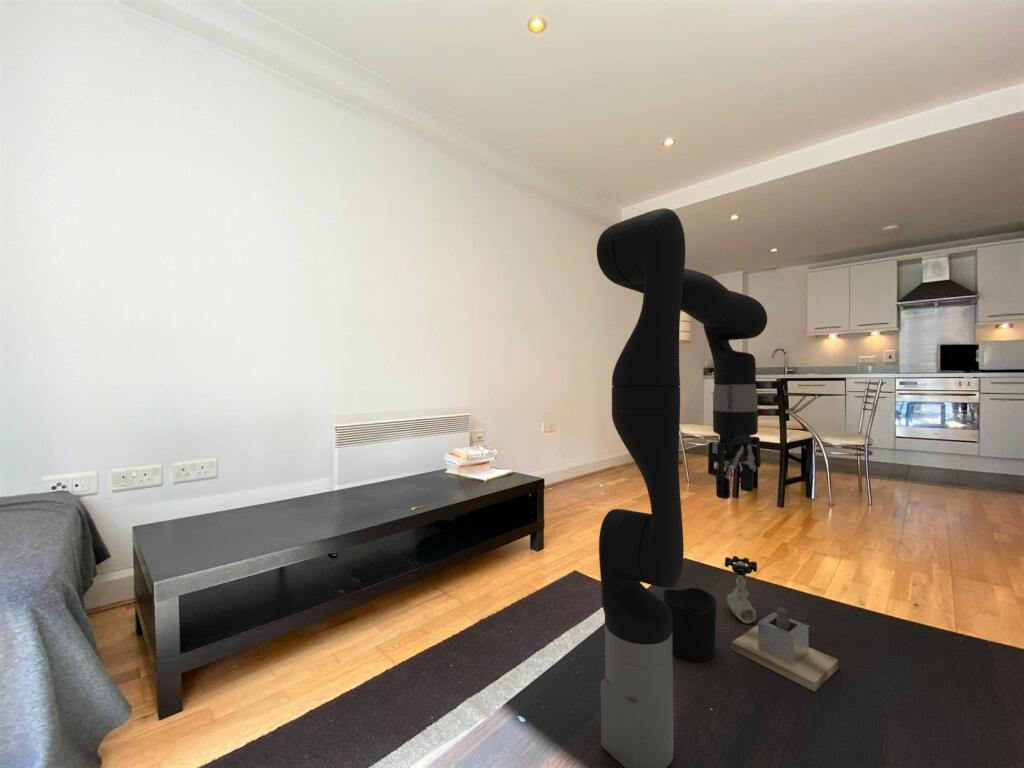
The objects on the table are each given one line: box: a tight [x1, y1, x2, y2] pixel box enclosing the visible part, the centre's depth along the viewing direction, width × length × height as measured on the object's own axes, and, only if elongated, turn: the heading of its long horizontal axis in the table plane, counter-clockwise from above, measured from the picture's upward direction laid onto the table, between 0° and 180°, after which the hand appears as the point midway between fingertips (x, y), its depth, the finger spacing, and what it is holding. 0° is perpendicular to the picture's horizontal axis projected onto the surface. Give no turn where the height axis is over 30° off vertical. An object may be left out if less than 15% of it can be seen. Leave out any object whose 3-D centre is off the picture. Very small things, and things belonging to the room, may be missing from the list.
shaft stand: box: [731, 606, 840, 692], centre depth 82 cm, size 10×14×10 cm
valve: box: [724, 555, 758, 625], centre depth 96 cm, size 7×7×12 cm
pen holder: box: [662, 587, 717, 663], centre depth 85 cm, size 9×9×10 cm
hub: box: [757, 611, 810, 665], centre depth 82 cm, size 6×6×5 cm
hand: (735, 494), depth 83 cm, fingers open, 8 cm apart
